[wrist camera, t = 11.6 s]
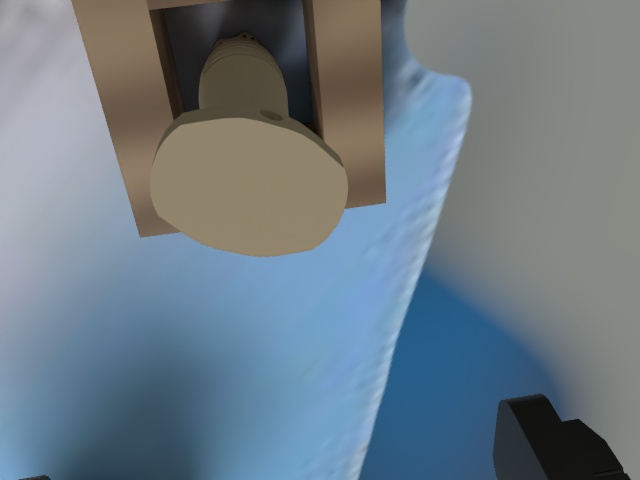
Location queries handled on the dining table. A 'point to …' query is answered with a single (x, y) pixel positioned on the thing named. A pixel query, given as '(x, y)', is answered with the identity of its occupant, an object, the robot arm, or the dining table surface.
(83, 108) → the dining table surface
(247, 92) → the handle
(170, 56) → the walnut sleeve
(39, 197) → the dining table surface
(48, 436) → the dining table surface
